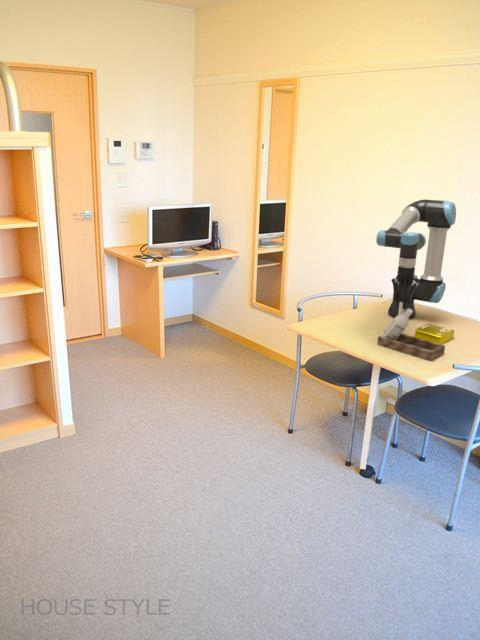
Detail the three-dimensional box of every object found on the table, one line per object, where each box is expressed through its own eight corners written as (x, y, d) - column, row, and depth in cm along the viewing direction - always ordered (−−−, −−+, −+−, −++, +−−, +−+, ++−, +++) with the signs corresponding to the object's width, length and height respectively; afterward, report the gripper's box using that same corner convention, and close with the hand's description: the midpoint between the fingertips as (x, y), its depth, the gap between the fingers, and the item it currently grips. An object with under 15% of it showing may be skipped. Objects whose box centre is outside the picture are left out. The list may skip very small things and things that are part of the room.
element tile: (427, 330, 283) (428, 322, 281) (454, 338, 273) (456, 329, 271) (412, 337, 273) (414, 328, 271) (440, 345, 263) (442, 336, 261)
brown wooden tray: (377, 344, 262) (378, 337, 260) (391, 338, 270) (392, 330, 269) (431, 361, 243) (432, 352, 242) (443, 353, 252) (445, 345, 251)
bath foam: (396, 344, 264) (419, 315, 252) (385, 344, 261) (408, 315, 248) (389, 333, 268) (411, 305, 256) (378, 333, 265) (401, 304, 252)
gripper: (389, 265, 250) (384, 313, 258) (415, 270, 242) (409, 319, 249) (398, 262, 255) (392, 310, 263) (423, 267, 247) (417, 316, 255)
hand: (400, 314), depth 256 cm, fingers closed
